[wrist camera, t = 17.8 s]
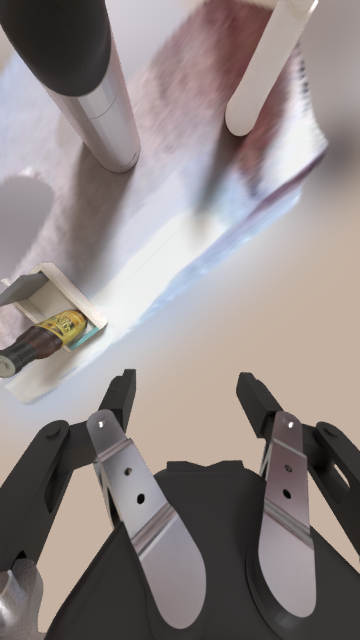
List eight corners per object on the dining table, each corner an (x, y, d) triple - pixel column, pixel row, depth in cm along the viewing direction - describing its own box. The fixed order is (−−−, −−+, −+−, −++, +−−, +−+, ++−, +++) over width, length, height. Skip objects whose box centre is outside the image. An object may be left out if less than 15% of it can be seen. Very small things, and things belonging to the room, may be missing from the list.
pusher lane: (18, 292, 41) (3, 295, 37) (52, 262, 39) (39, 263, 35) (76, 345, 46) (68, 353, 43) (108, 321, 45) (102, 327, 41)
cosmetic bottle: (219, 124, 32) (305, -106, 12) (235, 85, 31) (371, -268, 10) (245, 143, 34) (365, -36, 13) (262, 106, 32) (434, -170, 11)
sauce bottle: (92, 314, 43) (32, 359, 24) (84, 334, 44) (24, 391, 26) (65, 302, 41) (-21, 341, 23) (58, 324, 43) (-25, 376, 24)
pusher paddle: (16, 287, 39) (-19, 294, 32) (42, 264, 38) (12, 266, 31) (28, 298, 40) (-3, 307, 33) (53, 276, 39) (26, 280, 32)
